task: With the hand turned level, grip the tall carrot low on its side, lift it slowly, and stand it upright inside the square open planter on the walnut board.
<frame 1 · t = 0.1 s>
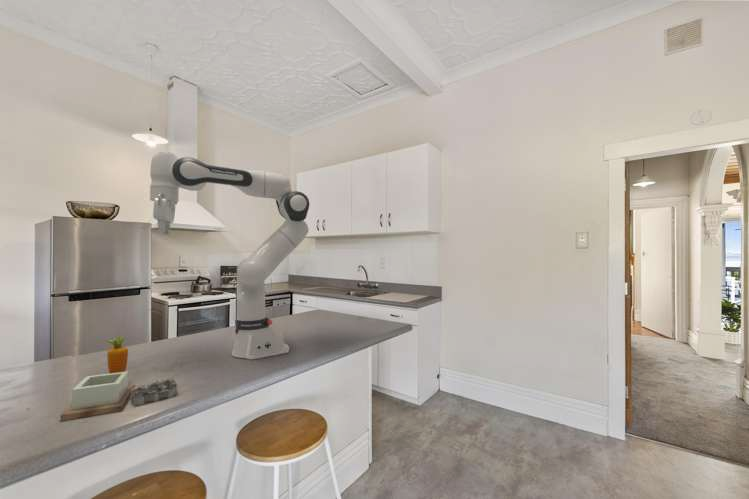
hand: (163, 233, 117), 48 cm above the counter, tool pointing down, fingers open, 8 cm apart
square open planter: (102, 389, 86), on the walnut board, point 4 cm above the counter
carrot: (117, 384, 98), on the counter
egg carton: (154, 398, 90), on the counter
walnut board: (101, 403, 86), on the counter
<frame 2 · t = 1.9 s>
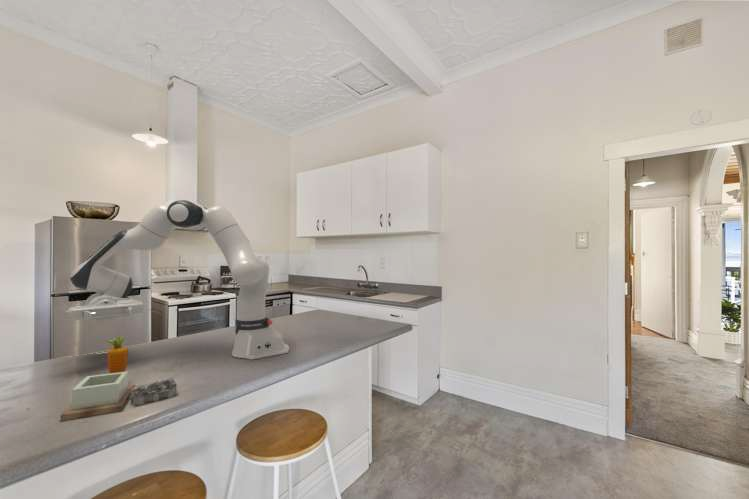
hand: (111, 313, 107), 20 cm above the counter, tool horizontal, fingers open, 8 cm apart
nothing on the counter moved.
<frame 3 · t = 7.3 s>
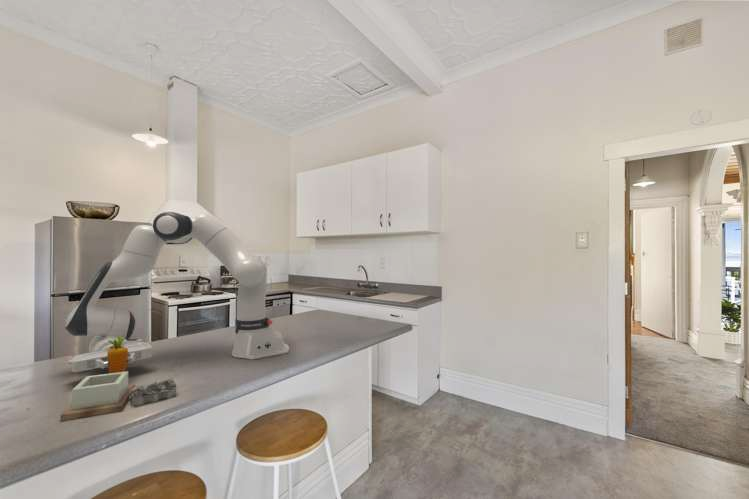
hand: (118, 362, 98), 7 cm above the counter, tool horizontal, fingers closed on carrot, 5 cm apart
carrot: (117, 384, 98), on the counter, touching gripper
everything else where it was.
when the fingers open (11 cm above the counter, at t = 15.8 s): carrot drops 2 cm, resting on walnut board.
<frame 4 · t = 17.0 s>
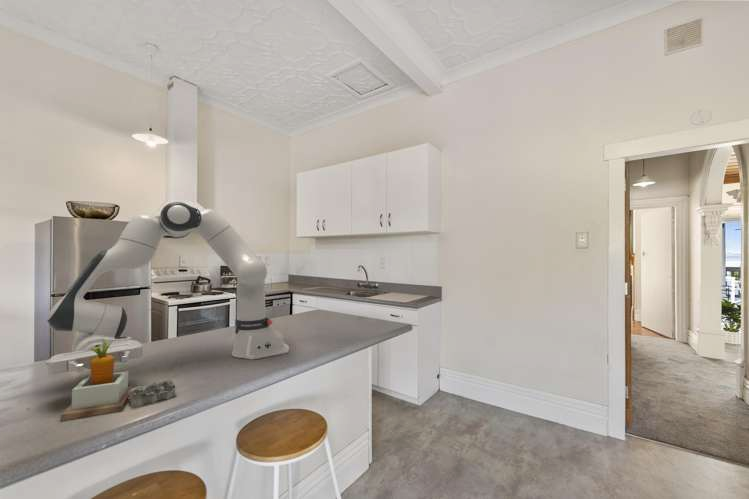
hand: (102, 363, 85), 11 cm above the counter, tool horizontal, fingers open, 8 cm apart
carrot: (102, 398, 86), point 1 cm above the counter, touching walnut board
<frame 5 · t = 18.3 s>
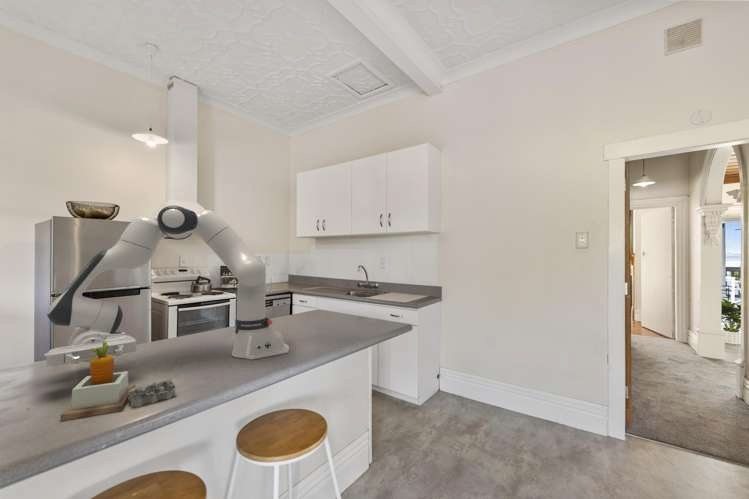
hand: (98, 356, 91), 11 cm above the counter, tool horizontal, fingers open, 8 cm apart
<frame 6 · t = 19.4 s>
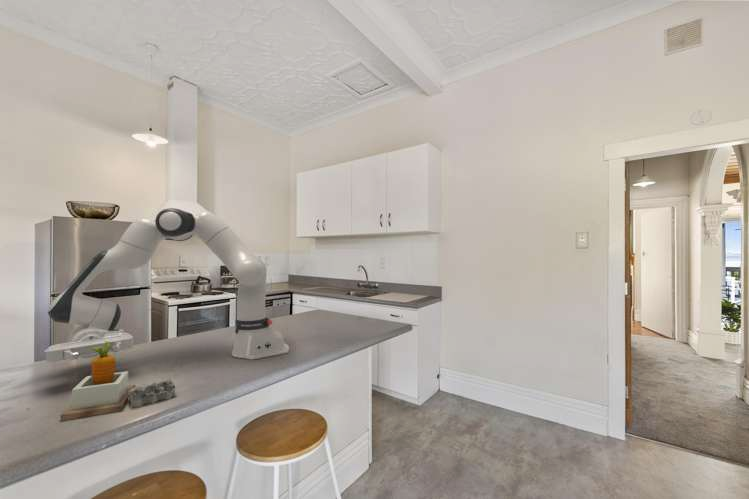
hand: (95, 352, 94), 11 cm above the counter, tool horizontal, fingers open, 8 cm apart
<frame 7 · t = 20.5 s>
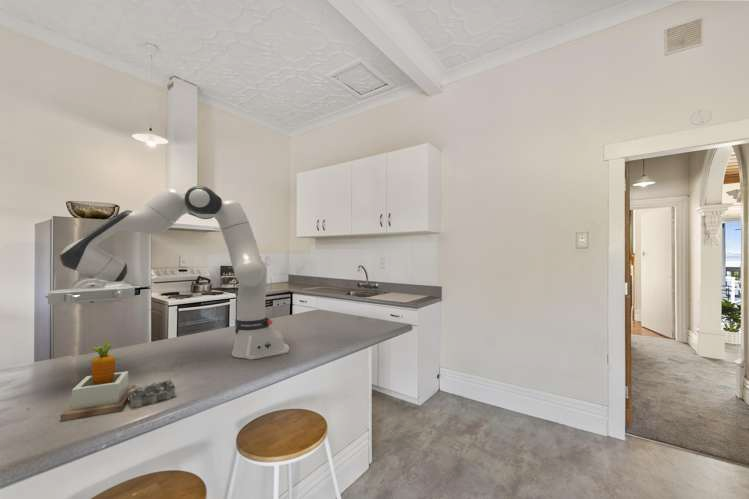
hand: (97, 297, 94), 28 cm above the counter, tool horizontal, fingers open, 8 cm apart
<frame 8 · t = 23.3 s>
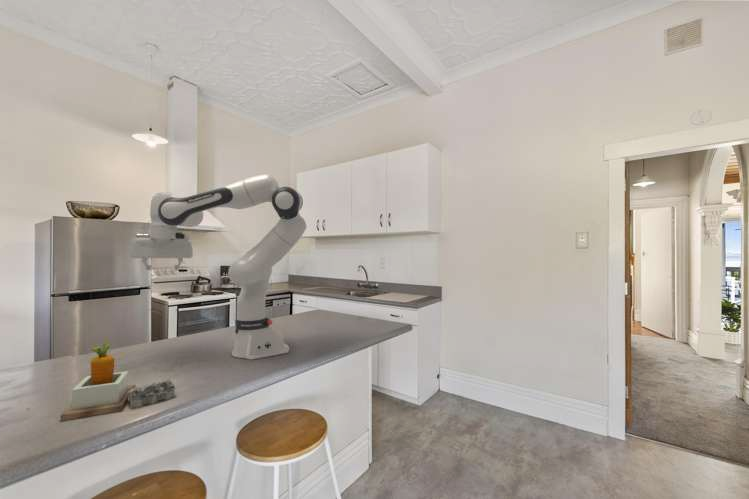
hand: (162, 269, 124), 34 cm above the counter, tool pointing down, fingers open, 8 cm apart
at the end: carrot 0.1 cm off-centre on the square open planter, point 1.3 cm above the square open planter's base; carrot tilted 1°; the gripper is holding nothing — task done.
